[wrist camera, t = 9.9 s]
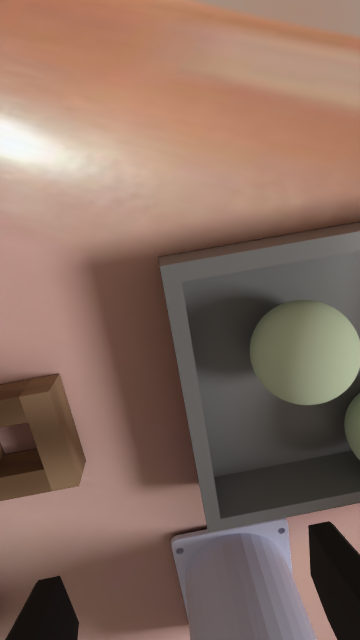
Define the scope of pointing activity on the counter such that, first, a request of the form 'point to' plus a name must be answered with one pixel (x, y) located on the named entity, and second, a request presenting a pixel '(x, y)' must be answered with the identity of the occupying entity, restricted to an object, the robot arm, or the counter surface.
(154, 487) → the counter surface
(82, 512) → the counter surface
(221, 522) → the charcoal tray
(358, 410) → the ball
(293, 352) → the sage ball
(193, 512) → the counter surface
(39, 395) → the walnut stand
